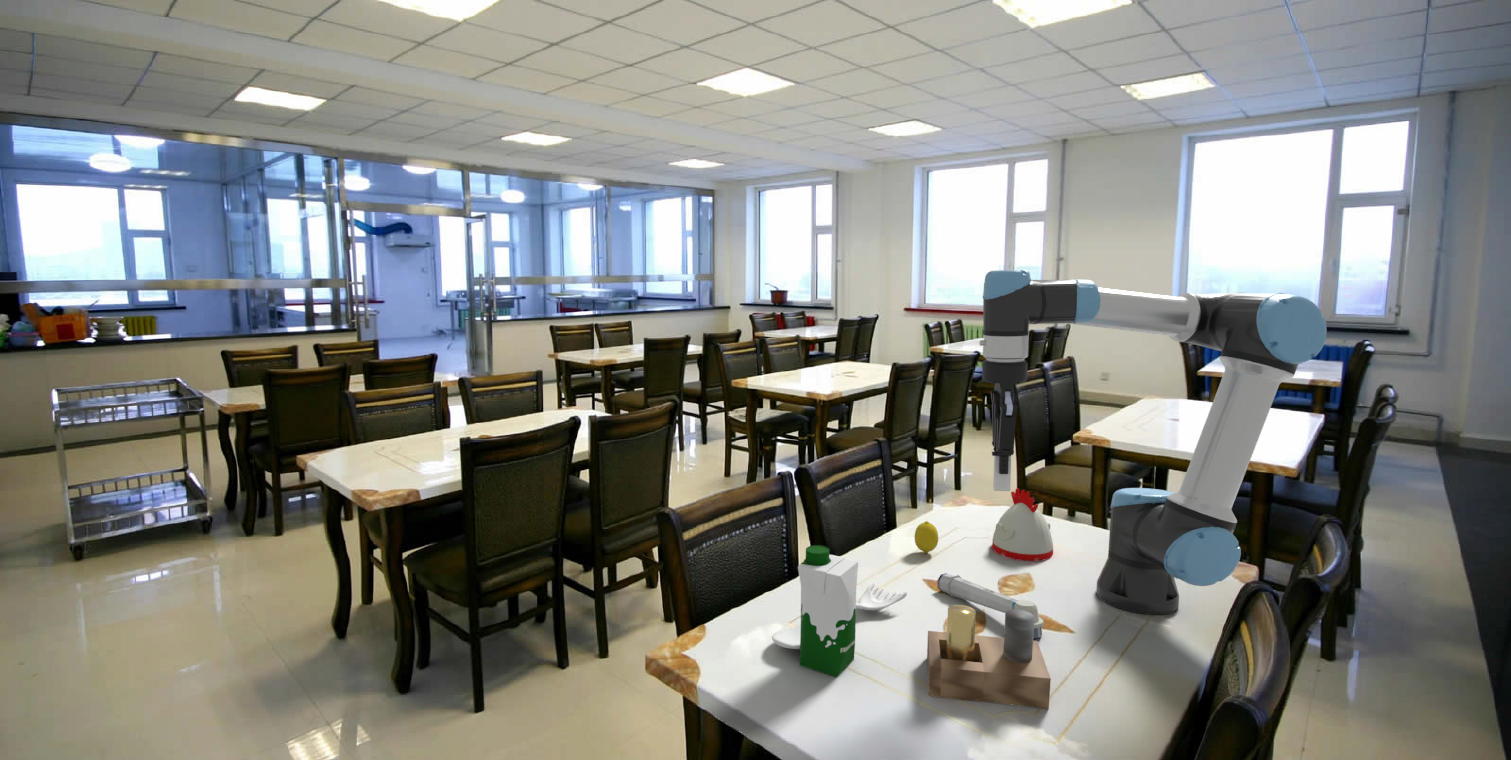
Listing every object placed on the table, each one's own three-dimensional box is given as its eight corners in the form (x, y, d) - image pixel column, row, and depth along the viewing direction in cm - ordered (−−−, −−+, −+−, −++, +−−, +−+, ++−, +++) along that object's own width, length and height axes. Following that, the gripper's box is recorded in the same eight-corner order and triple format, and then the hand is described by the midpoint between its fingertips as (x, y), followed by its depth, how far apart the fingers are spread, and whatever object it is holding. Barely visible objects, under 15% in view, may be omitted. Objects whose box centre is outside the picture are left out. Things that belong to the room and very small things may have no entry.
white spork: (909, 606, 148) (908, 590, 147) (798, 663, 126) (797, 644, 126) (873, 596, 154) (872, 580, 154) (762, 648, 133) (761, 629, 132)
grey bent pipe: (952, 569, 158) (1048, 598, 136) (954, 600, 158) (1050, 634, 136) (934, 574, 156) (1028, 604, 134) (935, 605, 156) (1030, 641, 134)
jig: (1035, 668, 126) (1039, 601, 124) (1048, 708, 114) (1053, 635, 112) (927, 657, 129) (929, 592, 127) (928, 695, 118) (931, 624, 116)
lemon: (940, 557, 175) (941, 525, 174) (916, 557, 175) (917, 525, 174) (934, 549, 180) (935, 517, 179) (911, 549, 180) (912, 517, 179)
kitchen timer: (1023, 537, 189) (1026, 480, 187) (1065, 555, 176) (1069, 494, 174) (980, 545, 183) (982, 486, 181) (1020, 564, 171) (1024, 502, 169)
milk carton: (815, 645, 134) (816, 538, 131) (861, 658, 129) (864, 548, 126) (792, 666, 126) (792, 554, 123) (840, 681, 122) (842, 565, 119)
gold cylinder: (971, 673, 124) (974, 605, 122) (973, 687, 120) (977, 617, 118) (944, 670, 125) (947, 603, 123) (945, 684, 121) (948, 615, 119)
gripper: (977, 355, 136) (975, 479, 140) (987, 363, 124) (984, 500, 127) (1020, 354, 135) (1017, 480, 138) (1034, 363, 122) (1030, 501, 126)
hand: (1001, 489), depth 133 cm, fingers closed
